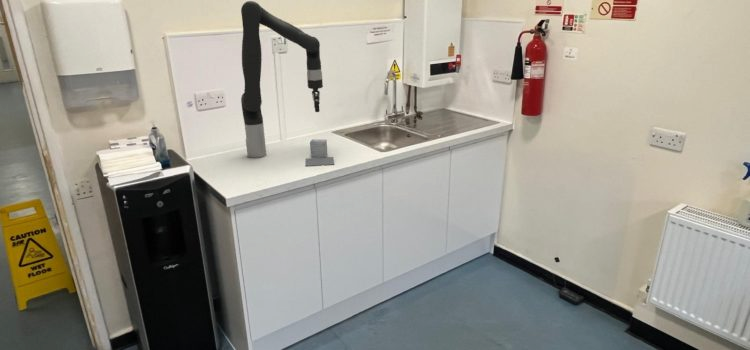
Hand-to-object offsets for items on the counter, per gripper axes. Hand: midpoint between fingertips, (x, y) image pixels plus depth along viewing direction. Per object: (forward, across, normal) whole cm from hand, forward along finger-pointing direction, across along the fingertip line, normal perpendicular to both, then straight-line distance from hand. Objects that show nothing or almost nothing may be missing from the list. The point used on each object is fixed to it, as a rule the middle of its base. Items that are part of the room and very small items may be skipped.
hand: (316, 110), depth 238 cm
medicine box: (+22, +9, -1) cm, 24 cm away
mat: (+22, +18, -1) cm, 28 cm away
